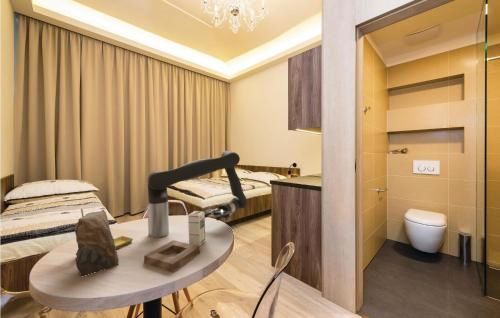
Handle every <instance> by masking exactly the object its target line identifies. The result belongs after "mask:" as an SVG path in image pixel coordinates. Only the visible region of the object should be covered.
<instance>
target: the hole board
mask: <svg viewBox="0 0 500 318" xmlns="http://www.w3.org/2000/svg"><path fill="white" fill-rule="evenodd" d="M200 249H201V247H200V246H196V245H192V244H189V243H188V242H183V241H179V240H174V239H173V240H170V241H169V242H166V243H165V244H163V245H162V246H159V247H158V248H156V249H153V250H152V251H150V252H148V253H146V254H144V255H143V263H144V264H147V265H149V266H153V267H155V268H158V269H162V270H164V271H168V272H171V273H174V272H175V271H177V270H179V268H181V267H182V266H184V265H185V264H186V263H188V262H190V261H191V260H193V259H194V258H195V257H197V256H198V255H200V253H201V250H200ZM171 253H177V254H176V255H174V256H173V257H172V256H169V255H170V254H171Z"/></svg>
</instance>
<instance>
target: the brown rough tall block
mask: <svg viewBox="0 0 500 318" xmlns="http://www.w3.org/2000/svg"><path fill="white" fill-rule="evenodd" d="M107 215H108V214H107V212H106V210H105V209H102V210H100V211H95V212H94V211H93V212H88V213H86V214H85V215H84V216H83V217H82V216H81V217H80V218H78V219H77V220H78V221H79V224H78V226H77V230H76V234H75V238H76V244H77V248H78V249H77V251H76V253H75V255H76V258H75V260H74V261H75V266H76V268H77V270H78V271H79V273H80V277H81V276H84V277H86V276H85V275H87V276H89V275H88V274H90V275H92V274H91V273H93V274H95V273H94V272H97V273H99V272H101V271H100V270H102V271H104V269H105V270H109V269H112V268H114V267H117V266H119V256H118V254H117V248H116V247H115V244H114V239H115V238H114V237H113V235H112V231H111V228H110V223H109V218H108V216H107ZM78 221H77V222H78ZM111 267H112V268H111ZM98 271H99V272H98Z"/></svg>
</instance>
